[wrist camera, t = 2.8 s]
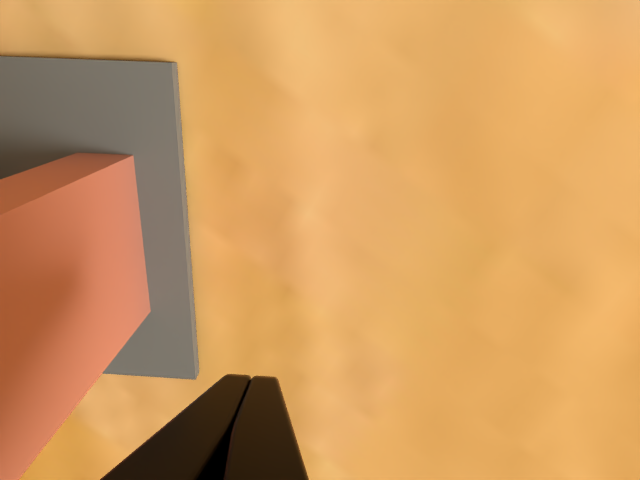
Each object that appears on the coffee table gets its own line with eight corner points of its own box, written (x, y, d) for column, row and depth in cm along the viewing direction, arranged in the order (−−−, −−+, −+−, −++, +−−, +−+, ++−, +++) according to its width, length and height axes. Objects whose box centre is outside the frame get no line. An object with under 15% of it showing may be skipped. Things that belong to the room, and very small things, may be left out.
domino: (133, 155, 13) (-243, 325, 5) (150, 311, 15) (-102, 632, 7) (77, 152, 13) (-390, 315, 5) (101, 308, 15) (-209, 622, 7)
